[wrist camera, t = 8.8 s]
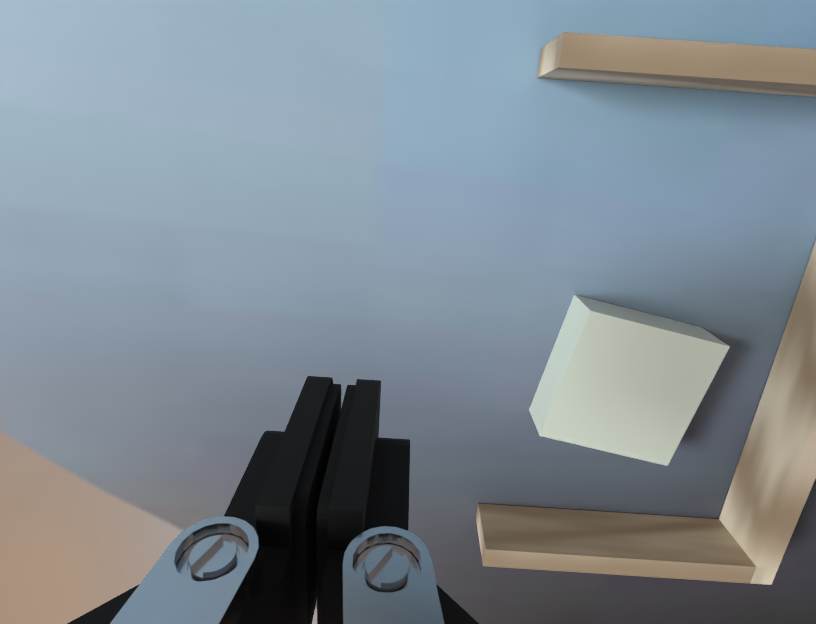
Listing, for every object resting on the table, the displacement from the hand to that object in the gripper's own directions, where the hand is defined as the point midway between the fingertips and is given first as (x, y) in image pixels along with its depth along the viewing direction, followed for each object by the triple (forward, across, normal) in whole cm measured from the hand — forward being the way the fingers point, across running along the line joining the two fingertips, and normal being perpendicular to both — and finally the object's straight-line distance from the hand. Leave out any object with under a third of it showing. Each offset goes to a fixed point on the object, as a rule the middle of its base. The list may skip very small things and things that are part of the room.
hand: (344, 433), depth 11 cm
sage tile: (+11, -11, +4) cm, 16 cm away
